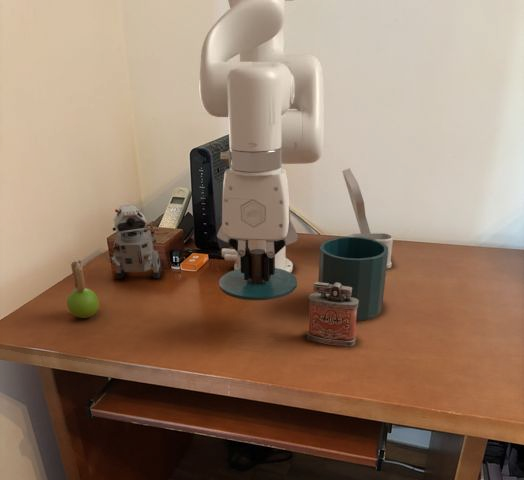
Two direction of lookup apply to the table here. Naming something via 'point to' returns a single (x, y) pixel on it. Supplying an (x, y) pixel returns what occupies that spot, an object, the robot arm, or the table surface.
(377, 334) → the table surface
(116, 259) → the figurine
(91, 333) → the table surface
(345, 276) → the tin
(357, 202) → the phone holder
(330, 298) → the lighter
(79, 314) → the green ball with peg
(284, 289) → the tin lid
